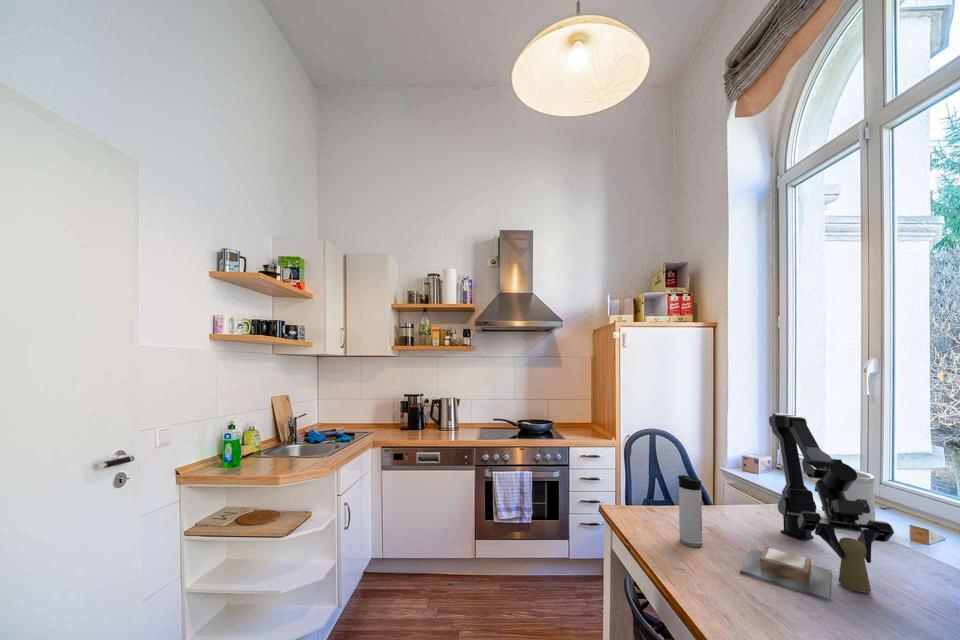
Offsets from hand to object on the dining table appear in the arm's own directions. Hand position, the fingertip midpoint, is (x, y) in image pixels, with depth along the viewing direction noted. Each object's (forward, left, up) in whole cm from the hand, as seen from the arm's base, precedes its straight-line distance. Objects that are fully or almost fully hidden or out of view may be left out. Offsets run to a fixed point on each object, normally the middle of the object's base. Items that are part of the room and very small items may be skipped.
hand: (855, 560), depth 101 cm
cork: (-1, +1, -7) cm, 7 cm away
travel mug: (-33, -19, -8) cm, 39 cm away
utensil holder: (-31, +53, -8) cm, 62 cm away
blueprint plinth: (-11, -9, -7) cm, 16 cm away
